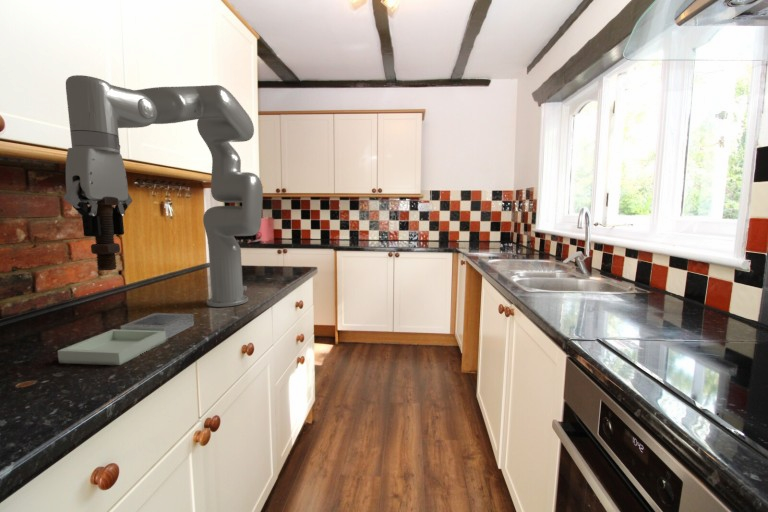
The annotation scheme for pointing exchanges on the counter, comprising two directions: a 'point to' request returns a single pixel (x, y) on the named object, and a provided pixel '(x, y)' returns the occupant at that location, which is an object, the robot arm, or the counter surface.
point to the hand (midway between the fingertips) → (104, 234)
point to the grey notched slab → (162, 323)
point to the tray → (112, 347)
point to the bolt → (106, 235)
